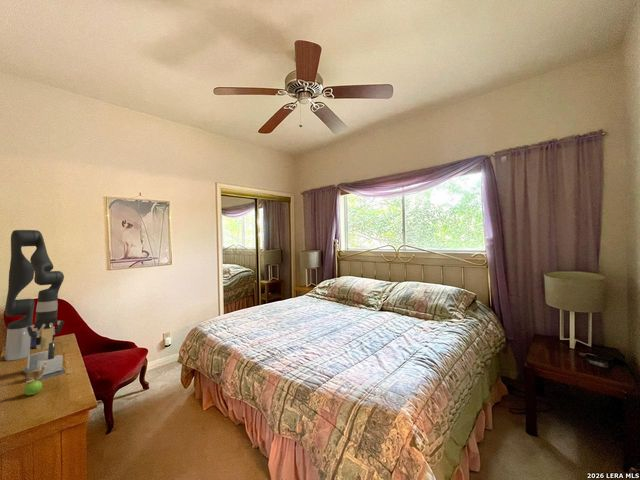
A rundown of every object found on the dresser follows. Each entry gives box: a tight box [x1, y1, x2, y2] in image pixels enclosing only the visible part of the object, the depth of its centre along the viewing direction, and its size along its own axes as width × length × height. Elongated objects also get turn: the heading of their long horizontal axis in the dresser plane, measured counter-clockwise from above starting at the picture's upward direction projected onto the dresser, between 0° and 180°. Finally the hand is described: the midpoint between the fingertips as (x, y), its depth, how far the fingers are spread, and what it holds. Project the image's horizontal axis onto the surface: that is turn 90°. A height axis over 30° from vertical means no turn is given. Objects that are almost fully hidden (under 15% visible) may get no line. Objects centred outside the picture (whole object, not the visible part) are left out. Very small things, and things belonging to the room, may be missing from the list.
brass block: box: [35, 328, 53, 351], centre depth 130 cm, size 4×6×10 cm, turn 62°
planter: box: [30, 326, 56, 349], centre depth 163 cm, size 11×11×11 cm
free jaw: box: [37, 341, 64, 375], centre depth 125 cm, size 4×8×14 cm, turn 152°
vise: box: [22, 349, 66, 381], centre depth 128 cm, size 18×10×8 cm, turn 62°
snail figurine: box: [22, 362, 47, 396], centre depth 109 cm, size 5×6×12 cm
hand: (44, 343), depth 130 cm, fingers closed on brass block, 4 cm apart
